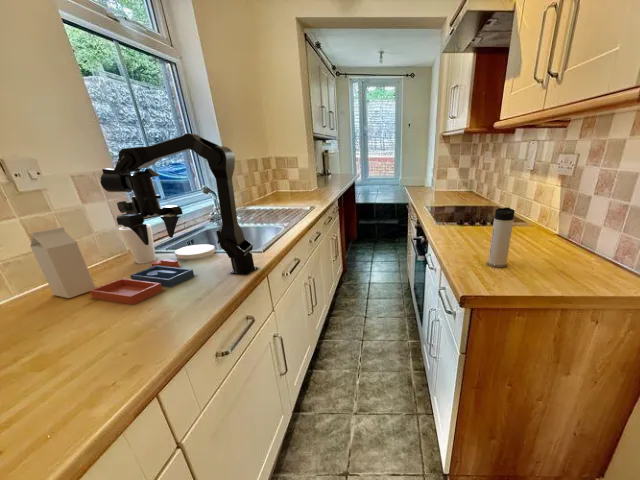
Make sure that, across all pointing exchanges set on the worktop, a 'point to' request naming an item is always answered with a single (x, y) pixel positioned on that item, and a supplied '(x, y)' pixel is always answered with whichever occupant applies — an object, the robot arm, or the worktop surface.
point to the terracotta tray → (126, 291)
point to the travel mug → (501, 237)
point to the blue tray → (182, 276)
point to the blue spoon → (162, 274)
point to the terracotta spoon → (166, 263)
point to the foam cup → (139, 245)
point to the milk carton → (61, 262)
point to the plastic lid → (195, 251)
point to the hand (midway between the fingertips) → (159, 241)
